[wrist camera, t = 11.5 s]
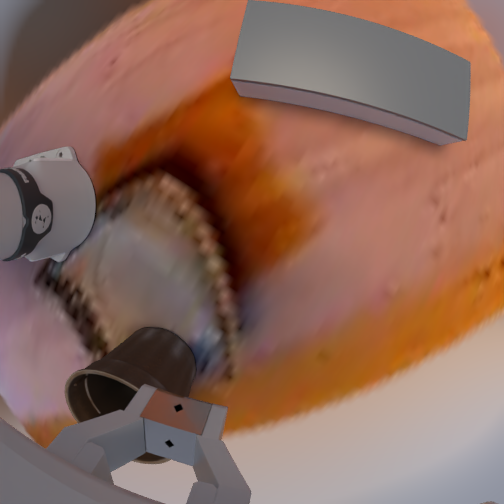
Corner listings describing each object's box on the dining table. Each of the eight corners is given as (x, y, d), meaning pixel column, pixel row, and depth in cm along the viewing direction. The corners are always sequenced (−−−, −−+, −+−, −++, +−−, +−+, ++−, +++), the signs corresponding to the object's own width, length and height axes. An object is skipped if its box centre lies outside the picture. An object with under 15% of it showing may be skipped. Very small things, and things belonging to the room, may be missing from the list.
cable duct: (239, 95, 36) (232, 81, 30) (254, 28, 33) (249, 6, 27) (440, 145, 34) (461, 141, 28) (444, 77, 31) (464, 65, 25)
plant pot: (182, 412, 48) (152, 478, 32) (107, 362, 47) (57, 414, 31) (228, 354, 44) (202, 428, 28) (138, 294, 43) (76, 343, 28)
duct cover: (231, 80, 29) (230, 78, 29) (249, 3, 26) (248, 0, 26) (463, 140, 28) (466, 140, 27) (467, 63, 25) (470, 62, 24)
